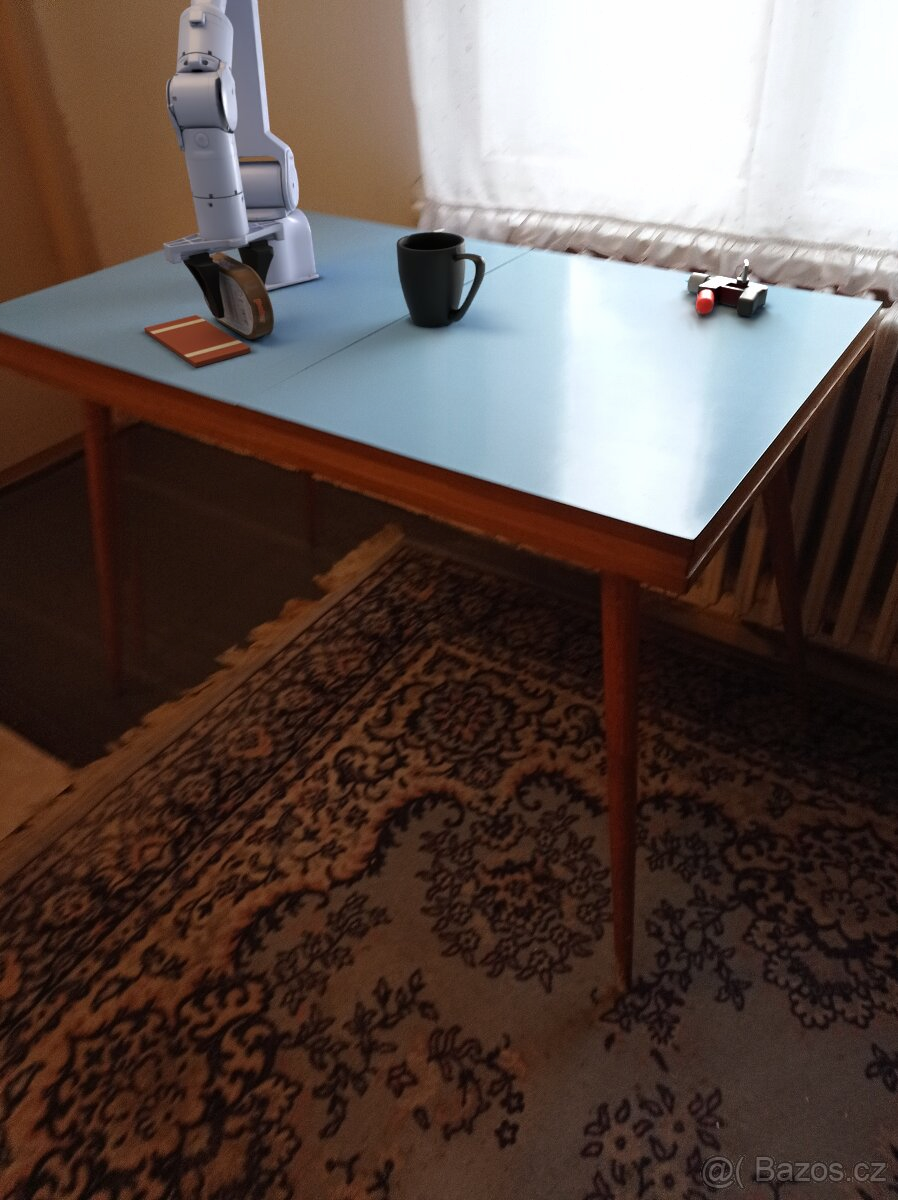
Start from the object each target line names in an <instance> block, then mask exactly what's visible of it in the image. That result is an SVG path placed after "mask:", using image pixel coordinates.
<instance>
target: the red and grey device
mask: <svg viewBox="0 0 898 1200" xmlns="http://www.w3.org/2000/svg"><path fill="white" fill-rule="evenodd" d="M749 267H750V262H749V259H748V258H747V259H746V258H745V259H743V265H742V272H741V276H737V277H736V279H735V278H730V277H726V276H720V275H716V276H715V277H712V276H711V275H709V274H704V273H700V272H692V273H691V275H690V276H689V278H688V279H687V280H684V281H685V282H686V283H687V286H686V287H687V288H686V289H687V292H688V293H692V294H696V302H695V309H696V312H698V314H701V315H708V314H709V313H710V312H712V310H713V308H714V305H715V304H717V303H719V304H724V305H728V306H732V307H735V308H736V314H737V315H741V316H745V317H751V316H752V315H753V314H754V313H755V311H756V309H757V308H759V307H764V306H765V305H766V301H767V296H768V292H769V291H768V290H769V287H768V286H767V285H765V284H760V283H755V282H750V278H749V277H748V274H749Z"/></svg>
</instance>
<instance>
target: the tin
mask: <svg viewBox="0 0 898 1200" xmlns="http://www.w3.org/2000/svg"><path fill="white" fill-rule="evenodd" d="M211 257H212V259H213V262H215V263H217V264H219V282H220V292H221V297H222V302H223V307H224V318H220V319H219V318H217V317H215V316H214V315H212V316H213V317H214V318H215V320H217V321H218V322H219V323H221V324H222V325H224V326H225V327H227V328H228V329H230V330H232V331H233V332H235V333H237V334H238V335H240V336H241V337H243V338H245V339H247V340H255V339H258V338H262V337H264V336H270V335H271V334H272V333H273V331H274V327H275V316H274V309H273V305H272V301H271V298H270V295H269V292H268V290H266V288H265V286H264V284H263V282H262V280H261V279H260V277H259V276H258V274H257V273H256V272H255V271H254V270H253V269H252V268H251V267H249V266H248V265H245V264H243V263H242V261H239V260H238V259H236V258H233V257H231V256H230V255H228V254H226V253H224V252H219V253H214V254H210V258H211ZM202 294H203V299H204V301H205V304H206V306H207V307H208V310H209V311H210V313H211V314H212V312H211V309H210V307H209V304H208V302H207V300H206V298H205V295H204V293H203V292H202Z"/></svg>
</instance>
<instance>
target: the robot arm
mask: <svg viewBox="0 0 898 1200" xmlns="http://www.w3.org/2000/svg"><path fill="white" fill-rule="evenodd" d="M258 1H259V0H190V6H188V7H187V8H185V9H184V10H183V11H182V13H181V14H180V16H179V25H178V40H177V41H178V42H177V55H176V56H177V57H176V70H175V71H176V72H175V73H174V75H173V76H172V78H168V80H166V81H167V82H166V86H165V89H166V90H165V96H166V97H165V98H166V105H167V106H166V108H167V112H168V116H169V120H170V122H171V125H172V128H173V129H174V132H175V135H176V139H177V140H176V141H177V144H178V147H179V150H180V151H182V152H183V153H184V157H185V163H186V169H187V175H188V180H189V184H190V185H189V186H190V191H191V196H192V202H193V207H194V212H195V217H196V223H197V228H198V232H196V233H194V234H190V235H188V236H185V237H182V238H179V239H176V240H172V241H168V242H164V243H162V246H163V251H164V255H165V260H166V261H167V262H168V263H170V264H173V265H177V264H181V263H182V262H183V264H184V265H185V268H187V269H188V271H189V272H190V274H191V275H192V276H193V278H194V280H195V281H196V283H197V285H198V286H199V288H200V290H201V292H202V294H203V293H204V294H203V296H204V295H205V298H206V300H207V302H208V304H209V307H210V309H211V311H210V313H211V312H212V313H211V315H212V316H213V315H214V316H215V317H217V318H219V319H220V318H224V307H223V302H222V297H221V292H220V282H219V264H217V263H215V262H213V259H212V257H211V258H210V256H211V255H214V254H216V253H219V252H222V253H224V252H227V251H232V250H236V249H237V251H238V254H239V257H240V261H241V262H242V263H243V264H245V265H248V266H249V267H251V268H252V269H253V270H254V271H255V272H256V273H257V274H258V276H259V277H260V279H261V280H262V282H263V284H264V286H265V288H266V290H267V291H271V290H275V289H279V288H283V287H287V286H291V285H295V284H299V283H303V282H307V281H308V282H309V281H311V280H316V279H319V277H320V275H319V274H318V273H317V272H316V271H317V270H316V263H315V254H314V246H313V238H312V231H311V227H310V226H311V225H310V223H309V220H308V218H307V216H306V214H305V213H304V212H303V210H301V209H299V208H297V207H298V205H299V199H300V198H299V197H300V196H299V194H300V191H299V189H300V188H299V179H298V178H299V177H298V173H297V169H296V166H295V158H294V153H293V152H292V149H291V148H290V146H289V145H288V144H287V143H285V142H284V141H283V140H282V139H280V138H279V137H277V136H276V135H275V134H274V133H273V132H271V130H270V129H271V128H270V118H269V107H268V96H267V87H266V76H265V66H264V55H263V45H262V44H263V43H262V36H261V35H262V34H261V26H260V25H261V24H260V23H261V22H260V14H259V2H258ZM259 157H260V158H261V157H263V158H264V157H270V158H273V159H275V160H250V161H249V160H248V161H245V160H244V161H242V160H241V161H239V159H241V158H259ZM210 309H209V310H210ZM214 316H213V317H214ZM215 317H214V318H215Z"/></svg>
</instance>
